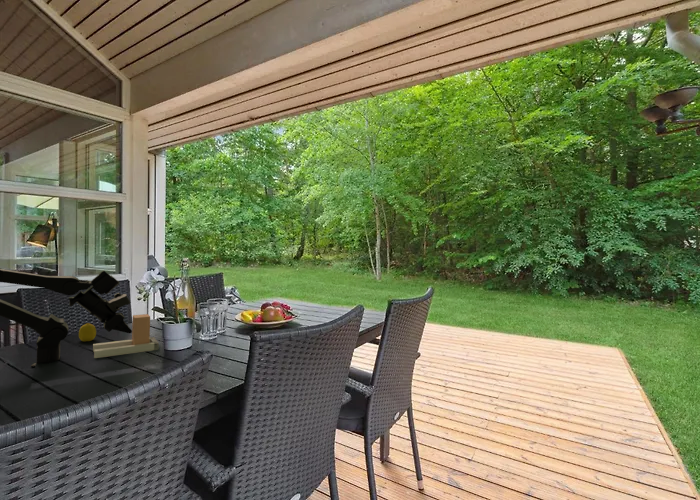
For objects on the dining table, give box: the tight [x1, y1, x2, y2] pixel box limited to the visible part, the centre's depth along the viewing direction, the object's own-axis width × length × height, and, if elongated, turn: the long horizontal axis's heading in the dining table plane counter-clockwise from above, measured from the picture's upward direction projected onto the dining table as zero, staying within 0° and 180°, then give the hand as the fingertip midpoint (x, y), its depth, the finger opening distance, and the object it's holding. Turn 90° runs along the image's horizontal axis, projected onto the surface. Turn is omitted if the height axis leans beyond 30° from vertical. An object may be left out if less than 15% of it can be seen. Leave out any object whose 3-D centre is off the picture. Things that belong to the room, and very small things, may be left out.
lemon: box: [78, 322, 97, 343], centre depth 139 cm, size 6×6×8 cm
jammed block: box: [131, 313, 151, 345], centre depth 133 cm, size 5×5×12 cm
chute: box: [92, 336, 160, 359], centre depth 130 cm, size 19×10×4 cm, turn 128°
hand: (131, 332), depth 131 cm, fingers closed
